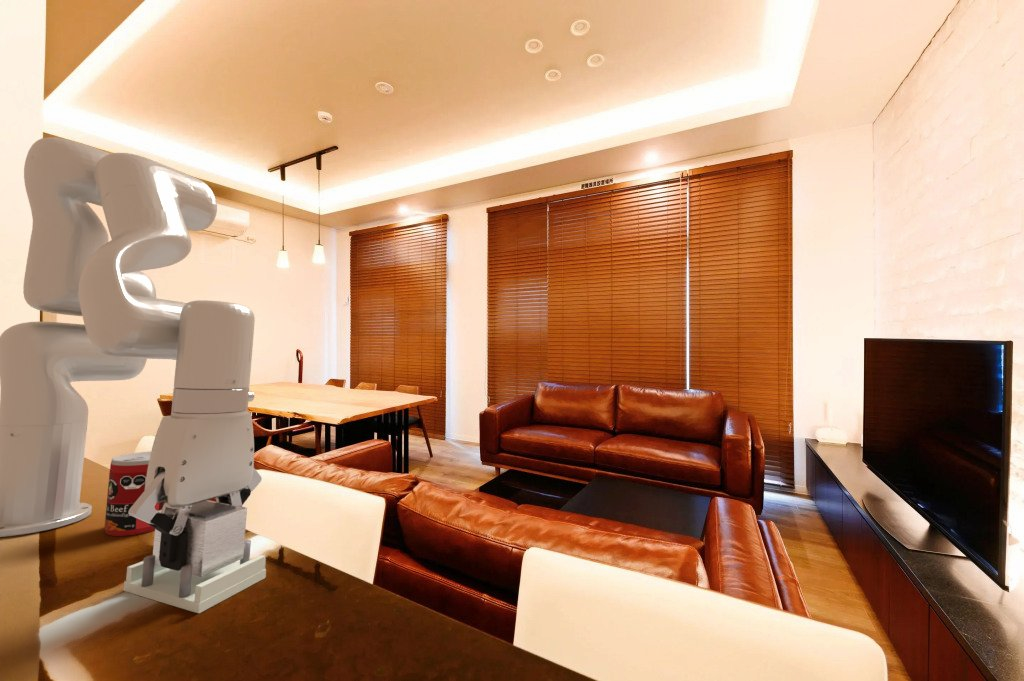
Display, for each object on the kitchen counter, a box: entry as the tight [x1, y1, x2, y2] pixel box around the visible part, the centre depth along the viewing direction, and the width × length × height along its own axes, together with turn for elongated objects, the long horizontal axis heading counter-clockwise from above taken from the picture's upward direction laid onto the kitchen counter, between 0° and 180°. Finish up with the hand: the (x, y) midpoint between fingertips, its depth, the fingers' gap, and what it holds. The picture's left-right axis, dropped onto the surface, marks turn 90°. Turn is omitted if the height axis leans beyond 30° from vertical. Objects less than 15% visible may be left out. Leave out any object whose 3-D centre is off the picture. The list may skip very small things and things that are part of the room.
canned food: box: [104, 451, 165, 537], centre depth 65 cm, size 8×8×11 cm
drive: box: [152, 500, 248, 577], centre depth 49 cm, size 8×5×6 cm, turn 72°
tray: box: [123, 539, 267, 614], centre depth 49 cm, size 12×8×4 cm, turn 72°
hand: (198, 555), depth 49 cm, fingers closed on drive, 5 cm apart
